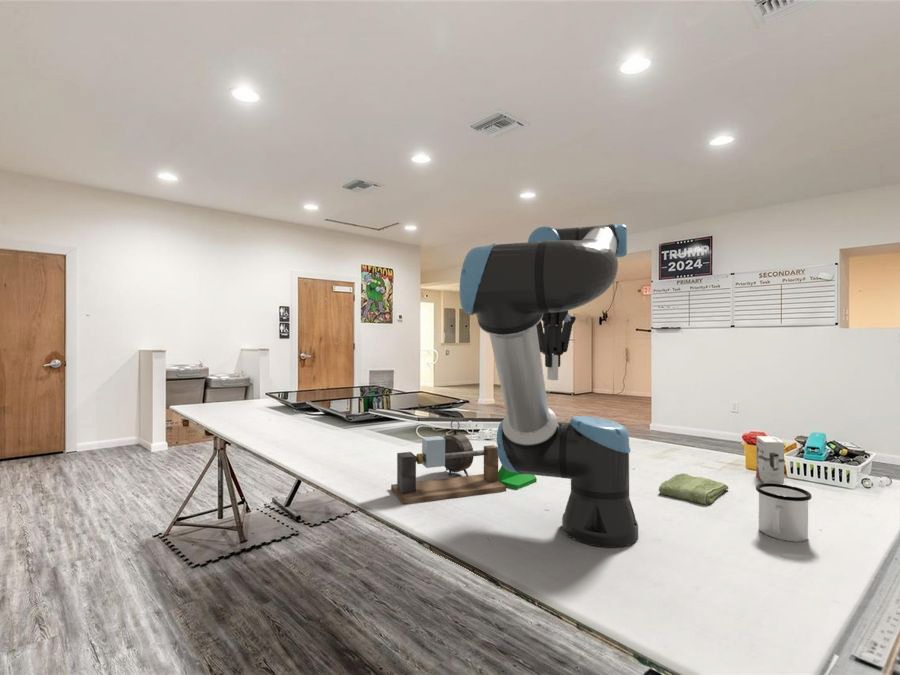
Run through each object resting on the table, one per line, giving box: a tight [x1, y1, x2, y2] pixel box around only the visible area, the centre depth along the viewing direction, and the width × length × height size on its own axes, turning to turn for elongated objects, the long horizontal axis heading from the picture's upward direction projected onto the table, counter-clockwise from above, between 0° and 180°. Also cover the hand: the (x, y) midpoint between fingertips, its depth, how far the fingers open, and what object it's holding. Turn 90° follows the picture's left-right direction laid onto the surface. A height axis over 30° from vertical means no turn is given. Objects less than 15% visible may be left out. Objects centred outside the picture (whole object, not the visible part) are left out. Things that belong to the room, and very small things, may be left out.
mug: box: [755, 482, 812, 543], centre depth 96 cm, size 12×10×9 cm
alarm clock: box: [442, 419, 475, 477], centre depth 138 cm, size 11×5×16 cm, turn 45°
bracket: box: [498, 465, 538, 490], centre depth 132 cm, size 12×8×7 cm, turn 137°
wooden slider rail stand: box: [390, 444, 507, 505], centre depth 124 cm, size 28×12×10 cm, turn 111°
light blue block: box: [421, 435, 445, 469], centre depth 123 cm, size 5×4×7 cm
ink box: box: [755, 435, 785, 485], centre depth 134 cm, size 9×5×12 cm, turn 161°
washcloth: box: [658, 473, 729, 505], centre depth 124 cm, size 13×18×3 cm
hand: (552, 379), depth 123 cm, fingers closed
